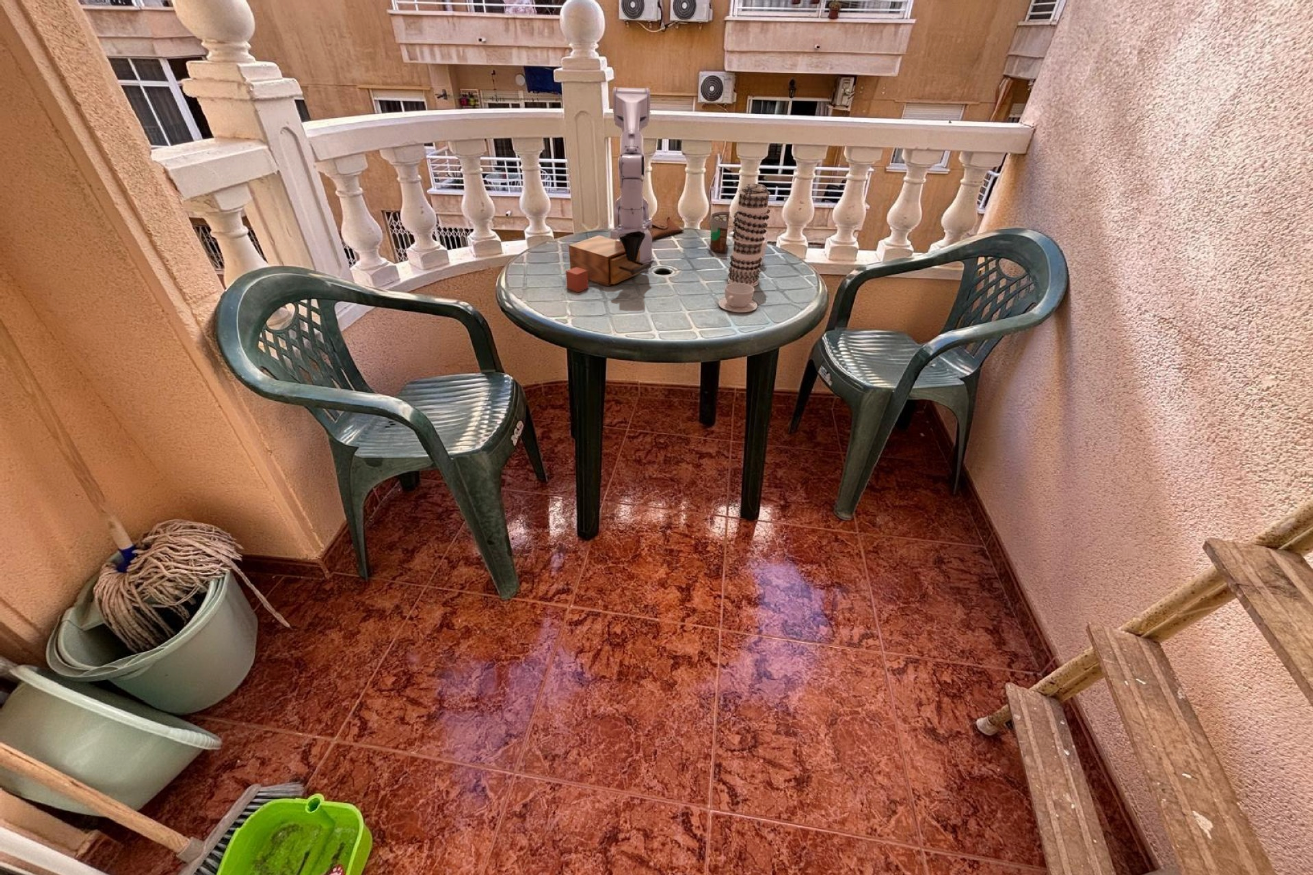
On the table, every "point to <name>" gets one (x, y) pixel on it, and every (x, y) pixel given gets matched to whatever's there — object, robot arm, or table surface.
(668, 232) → the sunglasses case
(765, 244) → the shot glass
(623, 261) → the drawer
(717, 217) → the food container
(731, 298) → the teacup
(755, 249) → the decorative candle
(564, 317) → the table surface
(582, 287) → the block
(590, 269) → the cabinet
